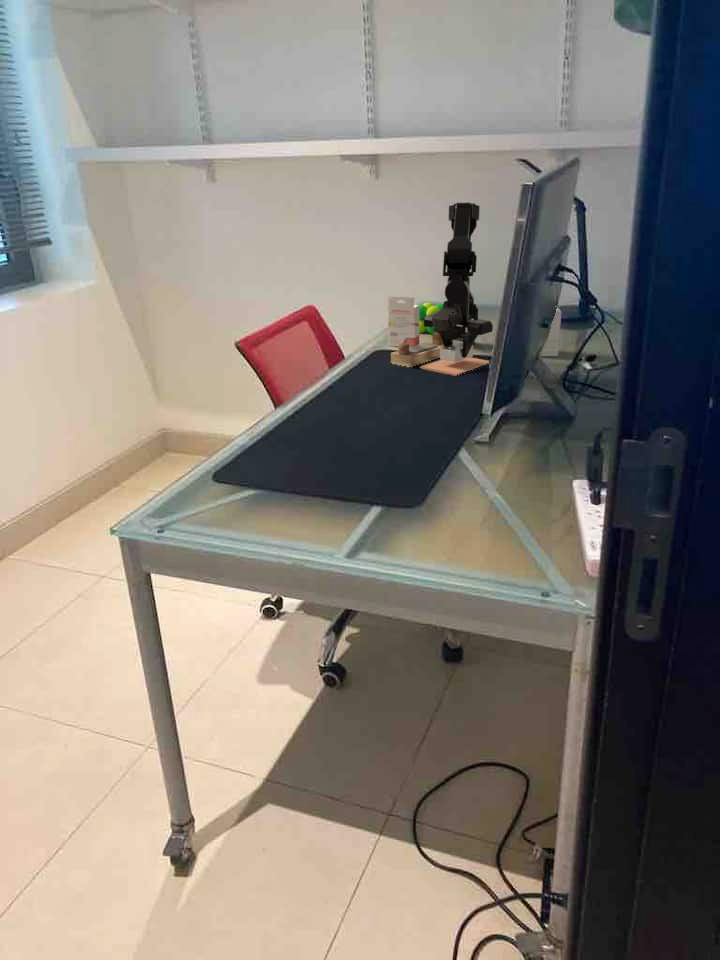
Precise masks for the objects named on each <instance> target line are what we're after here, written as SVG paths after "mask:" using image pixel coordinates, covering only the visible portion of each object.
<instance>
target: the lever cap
mask: <svg viewBox="0 0 720 960" xmlns="http://www.w3.org/2000/svg"><path fill="white" fill-rule="evenodd" d="M469 357H471V358H473V357H474V344H473V345H472V347H471V349H470V351H469V353H468V355H467V357H465V358H463V338H456V339H453V340H452V345H449V346H446V347H442V348H440V359H439V360H446V361H451V362H457V361H460V360H463V359H466V358H469Z"/></svg>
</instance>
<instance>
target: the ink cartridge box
mask: <svg viewBox="0 0 720 960" xmlns="http://www.w3.org/2000/svg"><path fill="white" fill-rule="evenodd" d="M387 301H388V303H387V305H388V306H387V338H388V339H387V341H388V343H387V345H388V346H389V347H399V344H409V347H412V346H415V345H419V344H420V333H419V305H420V304H415V297H414V296H395V295H394V296H392V295H391V296H388V300H387ZM398 301H403V302H398Z"/></svg>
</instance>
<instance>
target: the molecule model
mask: <svg viewBox="0 0 720 960" xmlns="http://www.w3.org/2000/svg"><path fill="white" fill-rule="evenodd" d="M418 305H419V334H422V333H425V332H426V331H427V332H428V334H430V335H432V334H433V333H436V331H434V330H433V329H434V326H433V327H425V326H424V318H425V317H426V315H430V314H434V313H437V312H438V311H440V310H442V309H443V303H437V304H435V305H433V304H432V303H430V302H425V303H423V304H418Z"/></svg>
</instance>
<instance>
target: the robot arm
mask: <svg viewBox="0 0 720 960" xmlns="http://www.w3.org/2000/svg"><path fill="white" fill-rule="evenodd" d="M480 207H481V206H480V205H479V204H476V203H474V202H473V203H472V202H456V203H453V204H452V205H449V206H448V219H447V220H448V221H449V222H450V227H451V230H452V233H453V234H452V239H451V240H449V241H448V242H447V246H446V247H447V248H446V251H445V250H444V251H443V266H442V267H443V268H442V277H448V278H447V284H446V285H445V289H444V296H445V299H446V300H444V301H443V303H442V304H443V309H442V310H440V311H438V312H437V313H434V314H430V315H426V317H425V318H424V326H425V327H433V326H434V329H433V330H434V331H436V332H437V333H438V334H439V335H440V336H441V339H442V341H443V344H444V347H446V346H449V345H452V340H453V339H456V338H463V358H465V357H467V355H468V353H469V351H470V349H471V347H472V345H473V346H474V345H475V344H476V339H477V338H478V336H482V335H485V334H490V333H491V332H493V329H494V328H493V327H494V326H493V323H492V321H491V320H485V319H480V318H479V308H478V307H477V303H475V296H474V295H473V293H472V290H470V289H471V288H470V286H471V285H470V284H471V281H470V280H471V278H470V277H473V276H474V273H476V272H477V257H478V255H476V252H475V251H474V250H473V242H472V241H471V240H472V239H471V238H472V235H473V233H474V232H475V230H476V228H477V226H478V225H477V223H478V221H480V216H481V215H480V212H481V211H480V210H481V208H480Z"/></svg>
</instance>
